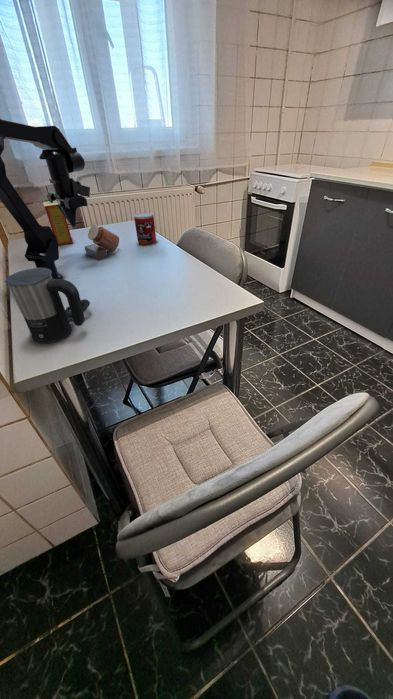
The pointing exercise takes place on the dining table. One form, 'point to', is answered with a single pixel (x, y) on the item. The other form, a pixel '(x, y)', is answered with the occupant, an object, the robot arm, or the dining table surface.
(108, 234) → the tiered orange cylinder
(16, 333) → the dining table surface
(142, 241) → the canned food
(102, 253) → the walnut block
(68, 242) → the baking soda box
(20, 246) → the dining table surface
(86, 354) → the dining table surface
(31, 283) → the milk frother
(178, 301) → the dining table surface
